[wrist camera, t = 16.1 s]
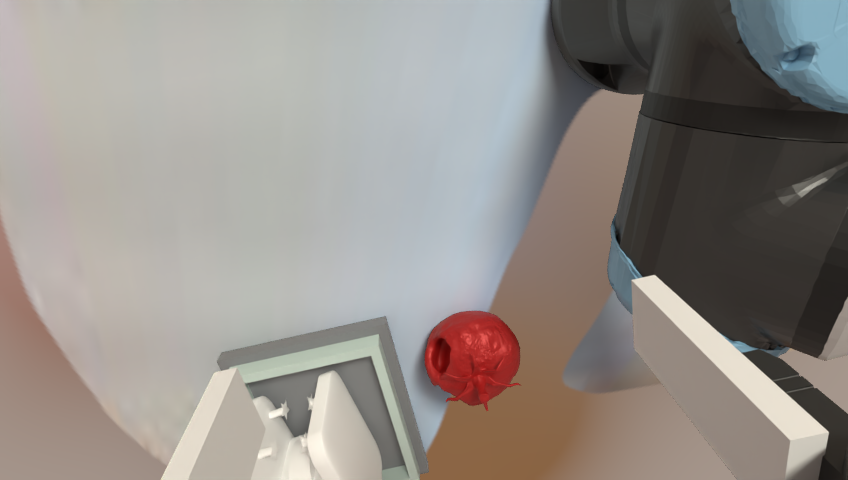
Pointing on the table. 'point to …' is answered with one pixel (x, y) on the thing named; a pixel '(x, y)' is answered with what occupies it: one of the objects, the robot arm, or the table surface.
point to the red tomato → (472, 356)
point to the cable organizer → (318, 439)
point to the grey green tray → (361, 374)
